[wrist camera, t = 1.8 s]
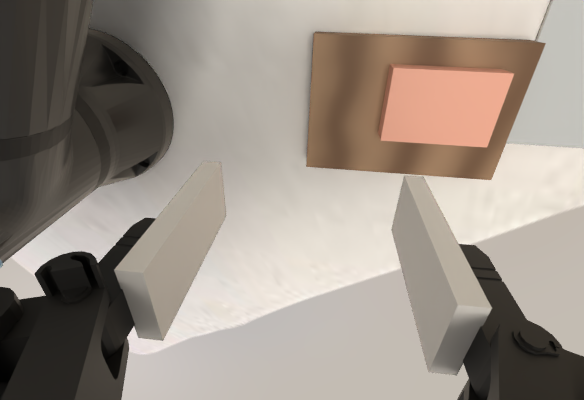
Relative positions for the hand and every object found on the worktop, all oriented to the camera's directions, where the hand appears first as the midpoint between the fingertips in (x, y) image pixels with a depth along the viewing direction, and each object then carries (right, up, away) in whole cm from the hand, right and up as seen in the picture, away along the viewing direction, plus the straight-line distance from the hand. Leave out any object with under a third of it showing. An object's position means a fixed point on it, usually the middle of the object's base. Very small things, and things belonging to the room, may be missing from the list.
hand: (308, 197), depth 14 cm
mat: (+25, +10, +14) cm, 31 cm away
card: (+12, +8, +14) cm, 20 cm away
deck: (+10, +9, +17) cm, 22 cm away
